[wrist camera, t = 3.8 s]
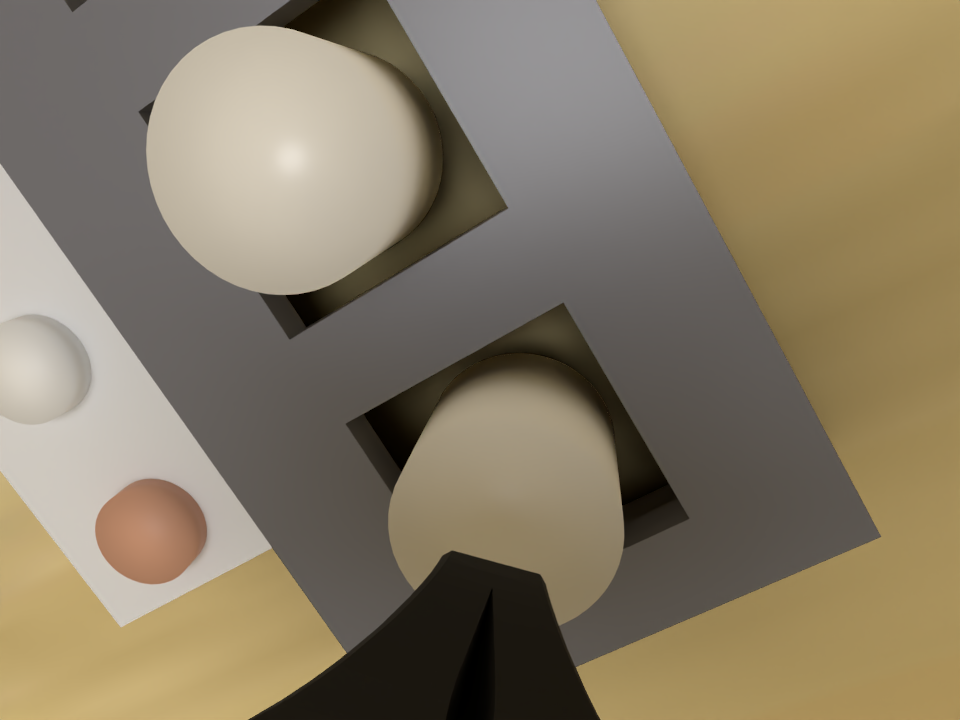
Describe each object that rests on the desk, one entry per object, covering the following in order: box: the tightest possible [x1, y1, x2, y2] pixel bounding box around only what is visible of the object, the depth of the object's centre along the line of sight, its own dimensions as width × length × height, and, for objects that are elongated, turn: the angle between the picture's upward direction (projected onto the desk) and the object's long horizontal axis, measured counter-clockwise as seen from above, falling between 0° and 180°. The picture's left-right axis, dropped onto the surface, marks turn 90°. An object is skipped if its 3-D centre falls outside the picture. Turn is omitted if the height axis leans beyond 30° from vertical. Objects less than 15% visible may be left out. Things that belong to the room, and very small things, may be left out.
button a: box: [388, 353, 624, 625], centre depth 15 cm, size 4×4×4 cm
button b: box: [146, 26, 443, 295], centre depth 14 cm, size 4×4×4 cm
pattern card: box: [0, 164, 272, 627], centre depth 20 cm, size 14×6×2 cm, turn 31°
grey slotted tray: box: [0, 0, 881, 667], centre depth 17 cm, size 23×11×4 cm, turn 31°
